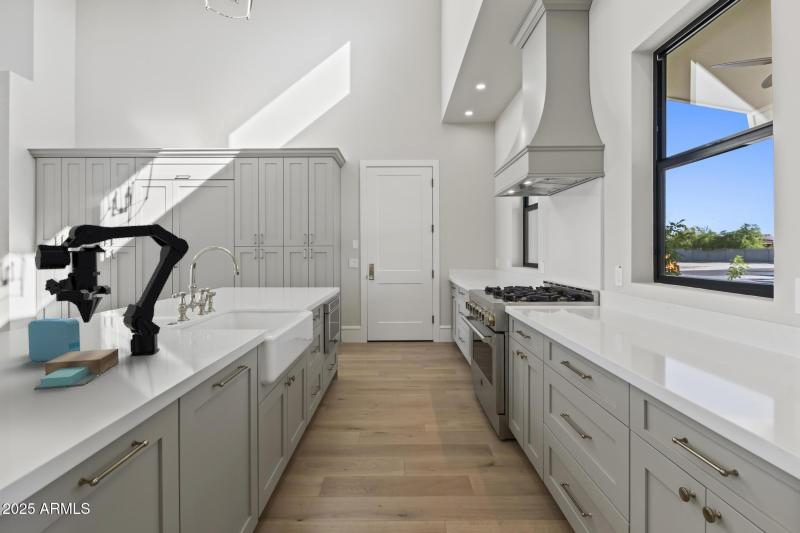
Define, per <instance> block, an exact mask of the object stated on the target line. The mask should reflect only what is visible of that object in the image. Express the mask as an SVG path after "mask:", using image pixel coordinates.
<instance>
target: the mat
mask: <svg viewBox="0 0 800 533" xmlns="http://www.w3.org/2000/svg"><path fill="white" fill-rule="evenodd" d="M99 374H100V373H91V374H88V375H86V376H84V377H83V378H81V379H79V380H78V381H76V382H74V383H73V384H71V385H62V386H49V387H41V386H40V384H39V385H37V386H34V388H33V390H43V389H53V388H65V387H66V386H68V387H77V386H76V385H80V386H85V385H87V384H88V383H90V382H91V381H93V380H94V379H96V378H97V377H98V376H97V375H99ZM100 375H101V374H100ZM100 375H99V376H100ZM96 376H97V377H96ZM95 377H96V378H95ZM93 378H94V379H93ZM92 379H93V380H92ZM90 380H91V381H90ZM89 381H90V382H89ZM87 382H88V383H87ZM86 383H87V384H86ZM66 388H67V387H66Z"/></svg>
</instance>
